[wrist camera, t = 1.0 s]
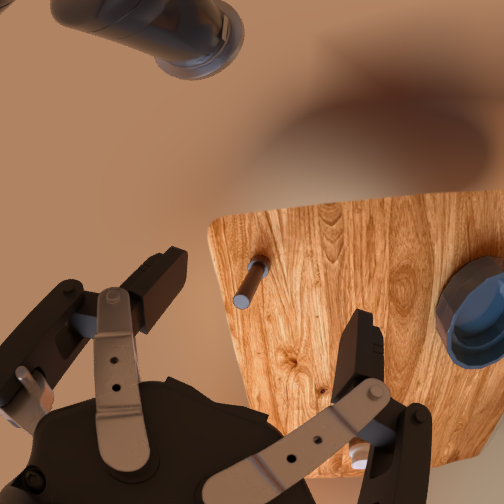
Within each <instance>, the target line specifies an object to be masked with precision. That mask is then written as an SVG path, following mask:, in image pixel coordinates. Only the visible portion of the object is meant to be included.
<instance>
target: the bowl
mask: <svg viewBox="0 0 504 504" xmlns="http://www.w3.org/2000/svg"><path fill="white" fill-rule="evenodd" d="M436 329H437V331H438V333H439V335H440V337H441V339H442V342H443V344H444V346H445V348H446V350H447V352H448V354H449V356H450V357H451V359H452V361H453V363H454V364H456V365H458V366H460V367H462V368H464V369H481V368H484V367H486V366H489V365H491V364H493V363H496V362H498V361H499V360H500V359H502V358H503V357H504V259H503V258H499V257H492V256H485V257H482V258H479V259H476V260H473V261H470V262H469V263H468V264H467V265H465V266H464V267H463V268H462V269H461V270H459V271H458V272H457V273H456V274H454V275H453V277H452V278H451V280H450V281H449V283H448V284H447V286H446V287H445V289H444V290H443V292H442V293H441V297H440V300H439V303H438V306H437V309H436Z"/></svg>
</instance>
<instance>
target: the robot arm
mask: <svg viewBox="0 0 504 504" xmlns="http://www.w3.org/2000/svg"><path fill="white" fill-rule="evenodd" d="M14 1H15V0H0V14H1V13H2V12H4V11H5V10H6V9H7V8H8V7H9V6H10V5H11V4H12V3H13V2H14ZM50 9H51V14H52V16H53V18H54V19H55V20H56V21H57V22H58V23H59V24H61V25H63V26H65V27H68V28H71V29H76V30H79V31H82V32H86V33H89V34H92V35H95V36H99V37H102V38H105V39H108V40H111V41H114V42H117V43H120V44H123V45H126V46H128V47H131V48H133V49H136V50H139V51H142V52H144V53H147V54H149V55H151V56H154V57H156V58H158V59H161V60H163V61H165V62H168V63H169V64H171V65H173V66H175V67H178V68H182V69H194V68H199V67H202V66H204V65H206V64H208V63H210V62H212V61H213V60H215V59H216V58H217V57H218V56H219V55H220V54H221V53H222V52H223V51H224V49H225V48H226V46H227V44H228V42H229V39H230V35H231V25H230V21H229V19H228V17H227V16H226V14H225V13H224V12H223V11H222V10H221V9H219V8H218V7H217V6H216V4H215V3H214V2H213V1H212V0H50ZM187 260H188V253H187V251H185V250H182V249H179V248H176V247H174V246H171V247H170V248H169V249H168V250H167V251H166V252H165V253H164V254H161V253H158V254H155V255H153V256H151V257H149V258H148V259H147V260H146V261H145V262H144V263H143V265H141V266H140V267H139V268H138V270H136V271H135V272H134V273H133V274H132V275H131V276H130V277H129V278H128V279H127V280H126V281H125V282H124V283H123V284H122V285H121V286H120V287H110V288H107V289H105V290H103V291H102V292H101V293H95V292H89V291H84V288H83V285H82V283H81V282H80V281H78V280H74V279H68V280H64V281H62V282H60V283H59V284H58V285H57V286H56V287H55V288H54V289H53V290H52V291H51V292H50V293H49V294H48V295H47V296H46V297H45V298H44V299H43V300H42V301H41V302H40V303H39V304H38V305H37V306H36V307H35V308H34V309H33V310H32V311H31V312H30V313H29V314H28V316H27V317H26V318H25V319H24V320H23V321H22V322H21V323H20V324H19V325H18V326H17V327H16V329H15V330H14V331H13V332H12V333H11V334H10V335H9V336H8V338H7V339H6V340H5V341H4V342H3V343H2V344H1V346H0V414H1V415H2V416H3V417H4V418H5V419H7V420H8V421H9V422H10V423H11V424H12V425H13V426H15V427H18V428H22V429H23V430H25V432H27V433H28V434H29V435H31V436H32V437H33V445H32V452H31V456H30V459H29V462H28V464H27V466H26V468H25V469H24V470H23V471H22V472H21V473H20V474H19V475H18V476H17V477H16V478H14V479H13V480H12V481H11V482H10V483H8V484H7V485H6V486H5V487H4V488H3V489H2V491H1V492H0V504H316V503H315V501H314V499H313V497H312V494H311V492H310V490H309V488H308V486H307V484H306V482H305V480H304V477H305V476H307V475H308V474H309V473H311V472H312V471H313V470H315V469H316V468H317V467H319V466H320V465H321V464H322V463H324V462H325V461H326V460H327V459H329V458H330V457H331V456H332V455H334V454H335V453H336V452H337V451H338V450H340V449H341V448H342V447H343V446H344V445H345V444H347V443H348V442H349V441H350V440H351V439H352V438H353V437H354V436H357V437H359V438H361V439H363V440H364V441H366V442H368V443H370V448H369V453H368V459H367V464H366V469H365V473H364V478H363V482H362V487H361V491H360V495H359V499H358V503H357V504H426V499H427V492H428V483H429V473H430V462H431V445H432V416H431V413H430V411H429V410H428V408H427V407H425V406H424V405H422V404H420V403H412V404H410V405H409V406H408V407H406V406H404V405H402V404H401V403H399V402H397V401H395V400H394V399H393V398H391V397H390V391H389V389H388V387H387V386H386V384H385V383H384V355H383V354H384V348H383V346H384V341H383V335H382V333H381V331H380V328H379V327H376V326H373V314H372V313H369V312H366V311H363V310H360V309H356V310H355V312H354V313H353V315H352V317H351V319H350V321H349V322H348V324H347V326H346V328H345V329H344V331H343V333H342V336H341V339H340V343H339V350H338V357H337V365H336V372H335V379H334V385H333V391H332V398H331V403H334V405H333V406H328V407H327V408H325V409H324V410H323V411H321V412H320V413H318V414H317V415H316V416H314V417H313V418H311V419H310V420H309V421H307V422H306V423H304V424H303V425H301V426H300V427H298V428H297V429H295V430H294V431H292V432H291V433H289V434H288V435H286V436H285V437H284V436H283V435H282V434H281V432H280V431H279V430H278V429H276V428H275V427H274V426H273V425H271V424H270V423H268V422H267V419H268V416H269V415H268V414H264V413H261V412H258V411H255V410H252V409H249V408H247V407H244V406H236V405H229V404H221V403H216V402H213V401H212V400H210V399H209V398H207V397H206V396H204V395H203V394H202V393H200V392H199V391H197V390H196V389H195V388H193V387H192V386H189V385H187V384H185V383H183V382H180V381H178V380H176V379H174V378H172V377H167V379H166V381H165V382H160V381H145V382H142V381H141V376H140V370H139V363H138V356H137V348H136V339H135V336H136V334H137V333H138V332H139V331H140V332H142V333H144V334H148V332H149V331H150V330H151V328H152V327H153V326H154V325H155V323H156V322H157V321H158V319H159V318H160V317H161V315H162V314H163V313H164V312H165V310H166V309H167V308H168V306H169V305H170V304H171V302H172V301H173V300H174V299H175V297H176V296H177V295H178V293H179V292H180V291H181V289H182V288H183V286H184V284H185V281H186V274H187ZM91 338H92V339H94V378H95V393H96V394H95V395H96V397H95V398H92V399H89V400H86V401H83V402H80V403H77V404H74V405H70V406H67V407H63V408H60V409H57V410H53V411H51V412H50V410H51V409H52V404H53V401H54V393H53V389H54V387H55V386H56V385H57V383H58V382H59V380H60V379H61V378H62V376H63V374H64V373H65V372H66V371H67V369H68V368H69V367H70V365H71V364H72V362H73V361H74V360H75V358H76V357H77V356H78V354H79V353H80V352H81V350H82V349H83V348H84V346H85V345H86V344H87V343H88V341H89V340H90V339H91Z"/></svg>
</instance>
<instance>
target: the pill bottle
mask: <svg viewBox="0 0 504 504" xmlns="http://www.w3.org/2000/svg"><path fill="white" fill-rule="evenodd" d="M369 448H370V443H368V442H366V441H364V440H363V439H361V438H359V437H357V436H354V437H353V438H352V439H351V440H350V441H349V456H350V457H351V466H352V468H354V469H366V464H367V459H368V453H369Z"/></svg>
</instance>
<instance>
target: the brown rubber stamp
mask: <svg viewBox="0 0 504 504" xmlns="http://www.w3.org/2000/svg"><path fill="white" fill-rule="evenodd" d="M269 269H270V261H269V260H268V259H267V258H266V257H265V256H262V255H257V256H255V257H253V258H252V259H251V261H250V263H249V264H248V273H247V275H246V277H245V279H244V280H243V282H242V284H241V286H240V287H239V289H238V291H237V292H236V294H235V296H234V298H233V303H234V305H235V306H236V307H237V308H239V309H246V308H248V307H249V305H250V303H251V300H252V298H253V296H254V294H255V292H256V290H257V287H258V285H259V283H260V281H261V279H262V278H264V277H266V276H267V274H268V272H269Z"/></svg>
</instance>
